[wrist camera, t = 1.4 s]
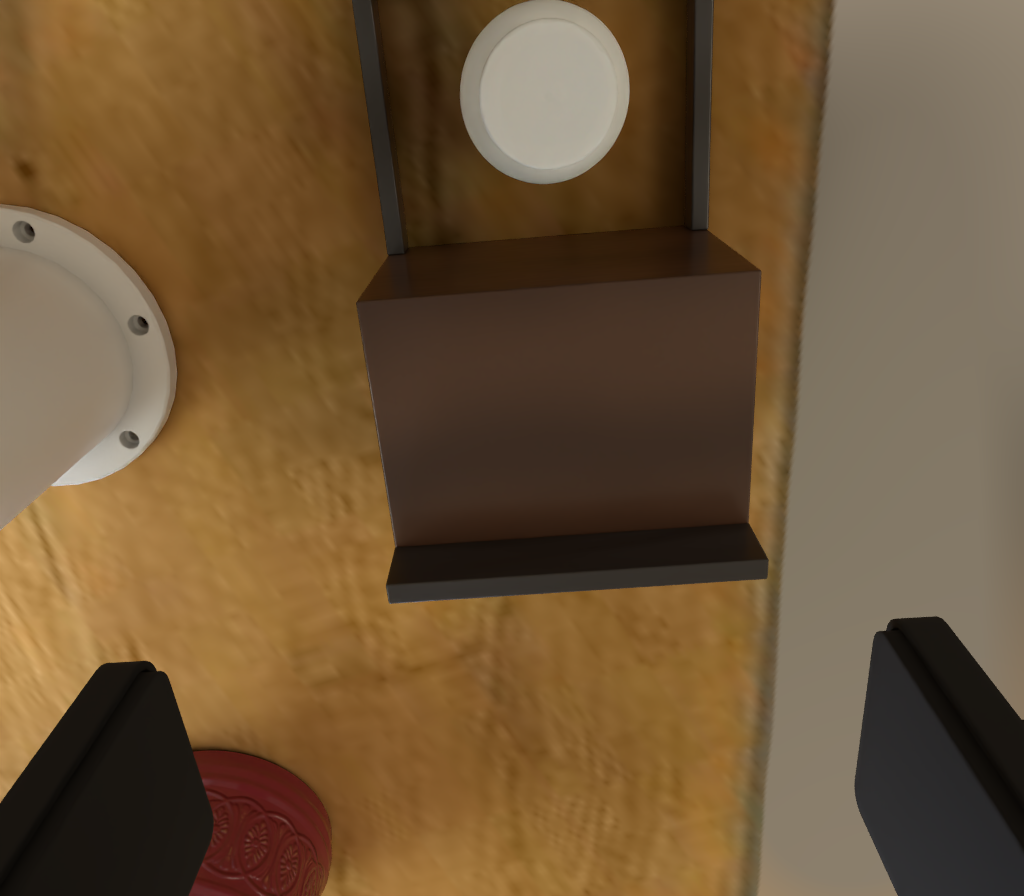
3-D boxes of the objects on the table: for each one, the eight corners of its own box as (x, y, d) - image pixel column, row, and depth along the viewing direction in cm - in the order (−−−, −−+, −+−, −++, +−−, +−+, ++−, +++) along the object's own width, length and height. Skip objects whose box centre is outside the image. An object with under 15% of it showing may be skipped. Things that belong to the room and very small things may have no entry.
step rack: (355, -24, 30) (272, -79, 19) (706, -55, 29) (814, -129, 19) (421, 461, 38) (388, 604, 28) (696, 441, 38) (767, 579, 27)
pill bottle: (456, 147, 32) (436, 172, 24) (484, -1, 30) (473, -35, 21) (586, 178, 33) (614, 214, 24) (622, 35, 31) (668, 16, 22)
